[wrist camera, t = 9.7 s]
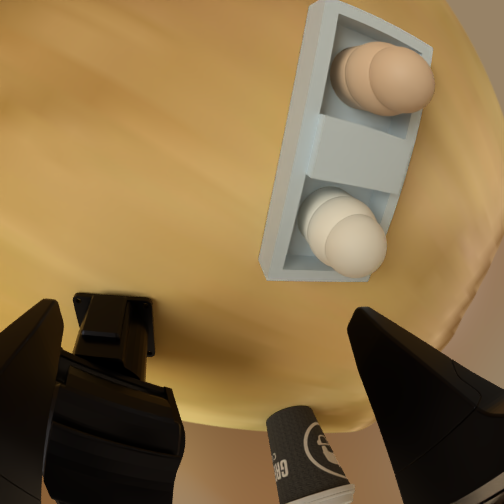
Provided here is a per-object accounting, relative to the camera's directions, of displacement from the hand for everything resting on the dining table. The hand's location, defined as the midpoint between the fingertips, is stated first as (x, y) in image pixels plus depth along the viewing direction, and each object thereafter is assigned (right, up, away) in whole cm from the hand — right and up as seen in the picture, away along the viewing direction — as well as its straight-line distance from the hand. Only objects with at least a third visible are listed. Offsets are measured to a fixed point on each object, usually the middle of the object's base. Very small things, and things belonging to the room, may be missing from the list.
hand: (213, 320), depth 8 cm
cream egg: (+6, +4, +12) cm, 14 cm away
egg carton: (+7, +9, +11) cm, 16 cm away
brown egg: (+8, +13, +8) cm, 17 cm away
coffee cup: (+6, -21, +28) cm, 35 cm away
